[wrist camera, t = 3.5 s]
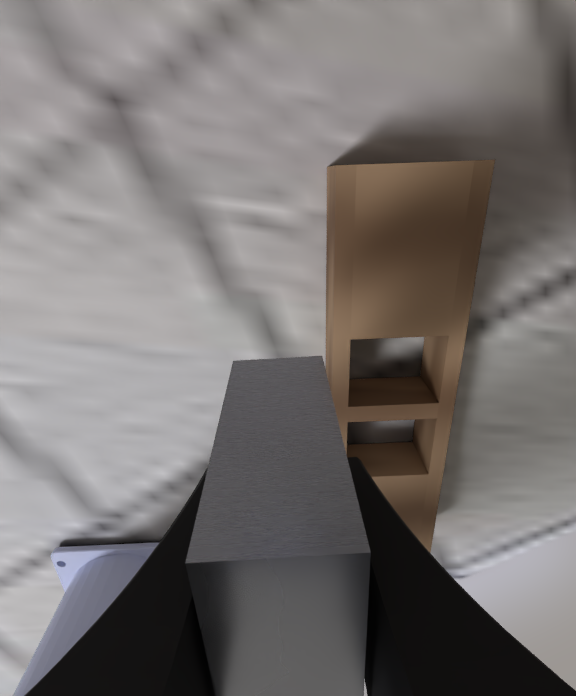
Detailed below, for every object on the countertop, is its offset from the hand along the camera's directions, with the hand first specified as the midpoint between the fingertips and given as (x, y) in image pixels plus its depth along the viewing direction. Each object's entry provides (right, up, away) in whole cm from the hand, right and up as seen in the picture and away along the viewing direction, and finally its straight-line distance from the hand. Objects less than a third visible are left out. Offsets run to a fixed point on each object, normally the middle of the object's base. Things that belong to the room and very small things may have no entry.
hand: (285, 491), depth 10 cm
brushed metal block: (0, +1, +2) cm, 2 cm away
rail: (+5, +2, +10) cm, 11 cm away
